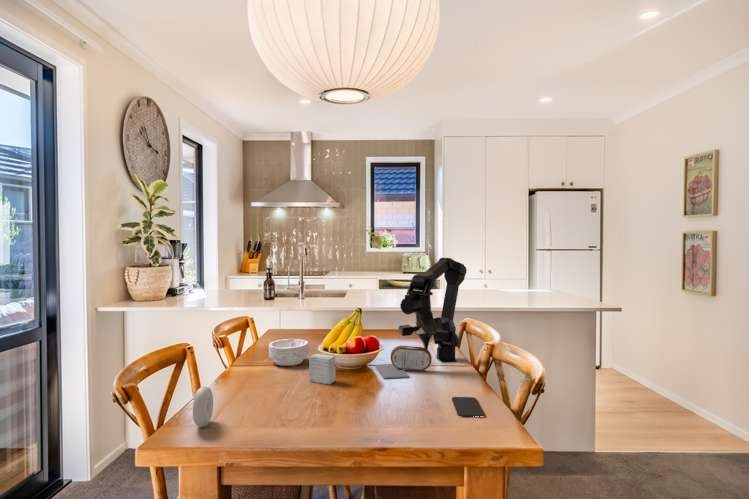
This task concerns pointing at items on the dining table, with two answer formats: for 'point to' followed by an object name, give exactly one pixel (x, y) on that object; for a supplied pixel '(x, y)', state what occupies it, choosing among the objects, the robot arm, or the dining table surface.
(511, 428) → the dining table surface
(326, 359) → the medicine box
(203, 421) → the grey marbled disc
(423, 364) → the tin
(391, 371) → the tin mat
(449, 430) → the dining table surface
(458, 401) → the phone
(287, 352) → the marble bowl
